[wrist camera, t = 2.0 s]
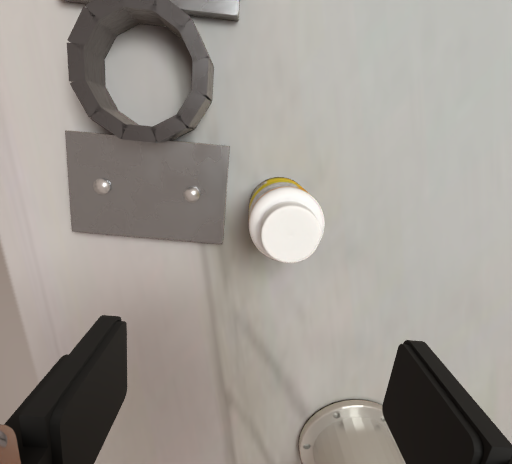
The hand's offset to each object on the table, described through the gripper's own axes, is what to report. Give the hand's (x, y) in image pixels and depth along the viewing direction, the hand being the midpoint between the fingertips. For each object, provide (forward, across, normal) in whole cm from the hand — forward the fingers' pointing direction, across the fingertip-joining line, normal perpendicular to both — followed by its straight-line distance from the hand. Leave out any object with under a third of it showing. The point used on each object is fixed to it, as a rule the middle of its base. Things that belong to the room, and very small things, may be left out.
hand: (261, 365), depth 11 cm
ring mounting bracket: (+21, +10, -11) cm, 26 cm away
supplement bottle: (+21, -2, -1) cm, 21 cm away
